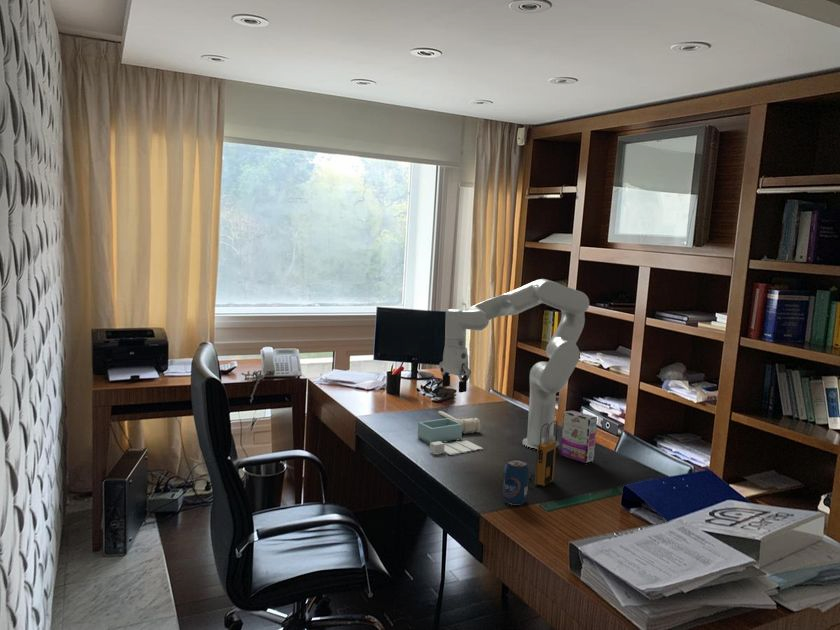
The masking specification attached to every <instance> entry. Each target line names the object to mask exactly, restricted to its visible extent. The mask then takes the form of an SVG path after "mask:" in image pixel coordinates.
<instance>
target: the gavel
mask: <svg viewBox="0 0 840 630" xmlns="http://www.w3.org/2000/svg"><path fill="white" fill-rule="evenodd" d="M437 413H438V415H440V416H442V417H443V418H444V419H445V418H450V419H452V420H454V421H456V422H458V423H461V424H462V434H463V433H464V434H463V435H465V434H474V433H475V432H477V433H476V434H478V433H479V432H480V431H481V429H482V428H481V427H482V425H481V424H482V423H481V421H480V420H479V418H477V417H474V418H473V417H470V418H461V419H460V418H455V417H454V416H453V415H450V414H448V413H446V412H444V411H442V410H439V411H437Z"/></svg>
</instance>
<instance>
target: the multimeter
mask: <svg viewBox="0 0 840 630" xmlns="http://www.w3.org/2000/svg"><path fill="white" fill-rule="evenodd" d="M553 422H554V423H556V426H558V422H557V420H554V421H553ZM553 422H552V423H553ZM552 423H551V424H552ZM551 424H550V425H551ZM544 425H546V424H544ZM544 425H543V426H544ZM543 426H542V428H543ZM548 426H549V424H548ZM549 428H550V426H549ZM549 428H548V427H547V431H548V438H547V435H546V440H545V442H544V443H541V434H540V444H539V445H538V448H537V450H536V463H535V466H536V467H535V474H536V475H535V479H534V480H535V481H534V484H535V483H536V484H535V488H537V486H538V485H537V484H540V485H544V486H546V485H547V484H546V483H548V482H550V481H551V480H553V481H554V473H555V463H556V449H557V447H556V441H557V440H558V439H557V437H558V429H556V431H555V433H556V434H555V442H553V441H549ZM541 432H542V429H541ZM550 483H551V482H550ZM545 484H546V485H545ZM548 484H549V483H548ZM535 488H534V489H535Z"/></svg>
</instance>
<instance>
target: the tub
mask: <svg viewBox="0 0 840 630" xmlns="http://www.w3.org/2000/svg"><path fill="white" fill-rule="evenodd" d="M417 424H418V426H417V438H418V439H419V438H421V439H423V440H424V441H423V440H422V441H423V442H425V441H426V442H425V443H427V442H428V443H432V442H438V441H441V442H444V441H450V442H452V441H451V440H456V441H458V440H457V439H462V438H463V437H462V435H463V433H462V424H461V423H458V422H456V421H454V420H452V419H450V418H445V417H444V418H439V419H432V420H426V421H425V420H424V421H418V422H417ZM421 439H420V440H421ZM428 443H427V444H428ZM444 443H445V442H444Z"/></svg>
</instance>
